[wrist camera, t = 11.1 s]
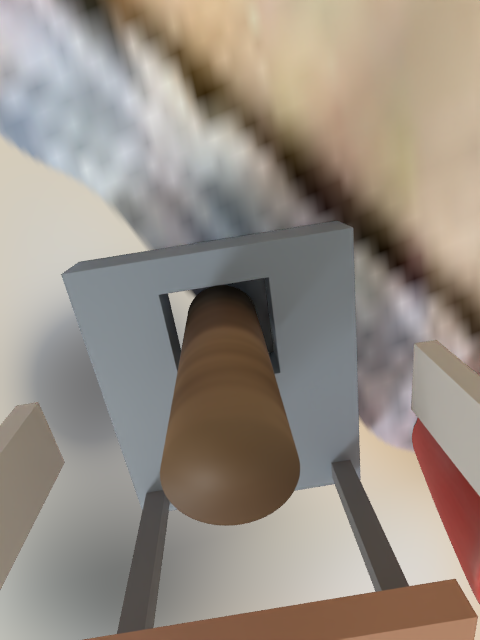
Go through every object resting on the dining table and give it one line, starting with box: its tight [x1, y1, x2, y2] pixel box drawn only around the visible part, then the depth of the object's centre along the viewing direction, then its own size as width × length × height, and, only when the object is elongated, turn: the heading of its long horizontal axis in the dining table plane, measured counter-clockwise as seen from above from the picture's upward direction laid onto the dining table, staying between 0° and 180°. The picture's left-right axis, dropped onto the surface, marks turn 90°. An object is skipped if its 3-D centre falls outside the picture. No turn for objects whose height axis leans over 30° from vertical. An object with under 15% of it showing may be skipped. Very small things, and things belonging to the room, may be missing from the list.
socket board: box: [61, 221, 478, 640], centre depth 17 cm, size 16×14×13 cm
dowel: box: [160, 285, 300, 525], centre depth 16 cm, size 4×4×12 cm
